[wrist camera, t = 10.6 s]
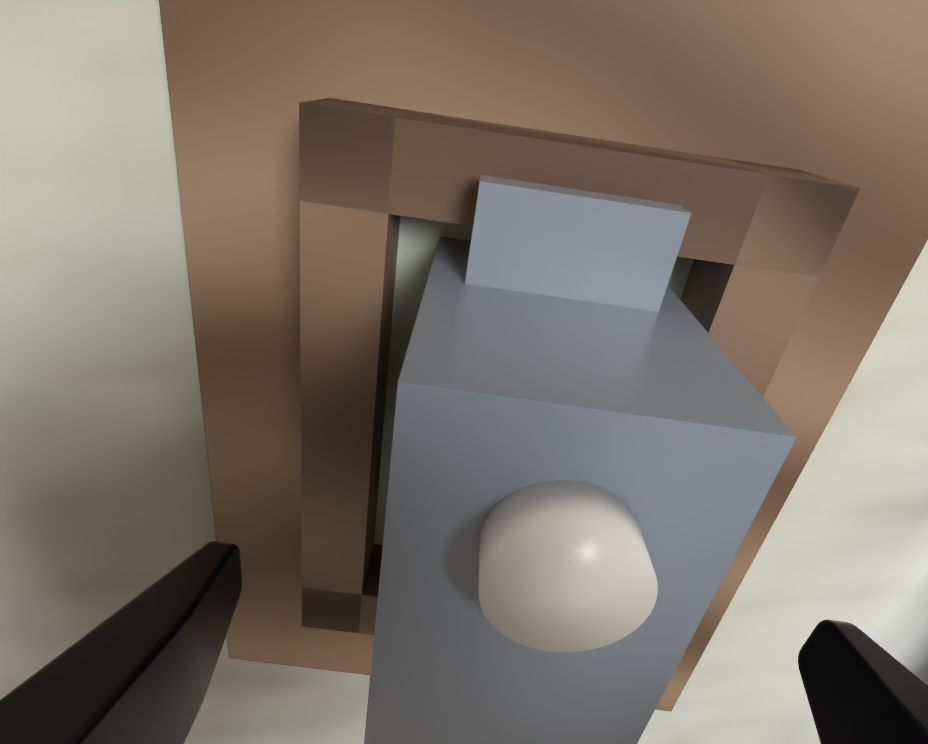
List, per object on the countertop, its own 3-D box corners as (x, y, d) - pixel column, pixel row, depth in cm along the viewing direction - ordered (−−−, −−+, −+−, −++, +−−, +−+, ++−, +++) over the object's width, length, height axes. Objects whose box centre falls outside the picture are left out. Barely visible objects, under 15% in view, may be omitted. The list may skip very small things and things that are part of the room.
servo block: (553, 587, 16) (592, 897, 10) (400, 568, 16) (348, 871, 10) (678, 187, 11) (925, 337, 5) (450, 152, 10) (399, 259, 4)
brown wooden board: (663, 683, 20) (688, 773, 17) (240, 631, 19) (202, 716, 17) (1066, -109, 9) (1287, -178, 7) (163, -266, 9) (30, -403, 6)
